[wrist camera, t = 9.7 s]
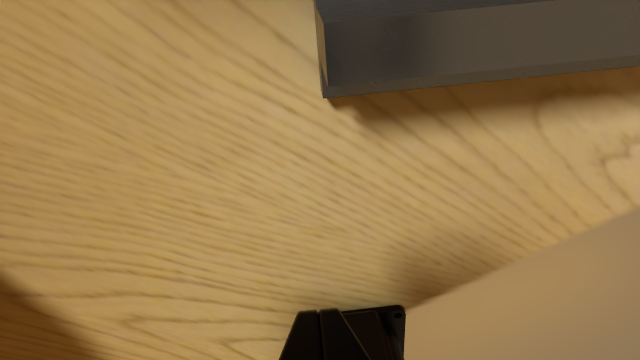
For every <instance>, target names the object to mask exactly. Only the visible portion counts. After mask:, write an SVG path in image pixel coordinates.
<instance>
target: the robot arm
mask: <svg viewBox="0 0 640 360" xmlns="http://www.w3.org/2000/svg"><path fill="white" fill-rule="evenodd" d="M318 314H319V315H318ZM405 316H406V314H405V311H404V308H403V307H402V306H399V305H396V306H388V307H379V308H371V309H362V310H354V311H345V312H340V311H339V310H338V309H337V308H329V309H321V310H320V311H319V313H318V312H317V311H316V310H307V311H300V312H298V314H297V316H296V318H295V321H294V323H293V325H292V328H291V330H290V333H289V335H288V338H287V340H286V343H285V345H284V348H283V350H282V353H281V355H280V358H279V360H404V357H403V356H404V337H405V318H406V317H405Z"/></svg>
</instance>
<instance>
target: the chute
mask: <svg viewBox="0 0 640 360" xmlns="http://www.w3.org/2000/svg"><path fill="white" fill-rule="evenodd" d="M314 10H315V22H316V35H317V47H318V60H319V72H320V85H321V92H322V96H323V98H333V97H342V96H352V95H361V94H371V93H381V92H390V91H400V90H410V89H419V88H429V87H439V86H448V85H458V84H468V83H477V82H487V81H497V80H506V79H516V78H526V77H535V76H545V75H555V74H564V73H574V72H583V71H593V70H603V69H612V68H622V67H632V66H640V0H314Z"/></svg>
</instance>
